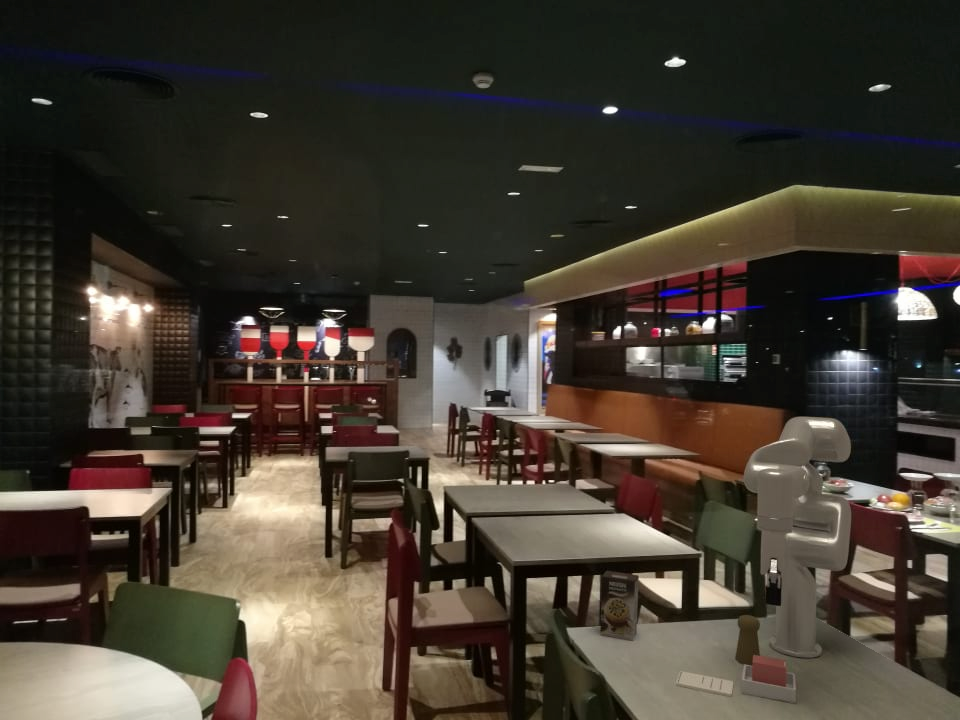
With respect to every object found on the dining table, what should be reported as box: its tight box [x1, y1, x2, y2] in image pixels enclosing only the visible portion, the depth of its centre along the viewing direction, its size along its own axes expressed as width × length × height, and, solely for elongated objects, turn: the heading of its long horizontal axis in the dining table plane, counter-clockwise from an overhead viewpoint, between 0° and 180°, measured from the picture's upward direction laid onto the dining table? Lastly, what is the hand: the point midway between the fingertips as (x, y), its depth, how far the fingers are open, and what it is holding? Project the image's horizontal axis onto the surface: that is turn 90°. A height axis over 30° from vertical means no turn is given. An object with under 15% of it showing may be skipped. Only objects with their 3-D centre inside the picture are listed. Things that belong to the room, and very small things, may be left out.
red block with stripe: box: [752, 655, 787, 687], centre depth 156 cm, size 4×7×6 cm, turn 66°
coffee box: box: [600, 570, 640, 642], centre depth 187 cm, size 9×6×16 cm
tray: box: [741, 664, 797, 705], centre depth 156 cm, size 9×11×3 cm
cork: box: [734, 614, 761, 666], centre depth 171 cm, size 6×6×11 cm
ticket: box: [675, 670, 734, 698], centre depth 157 cm, size 7×12×1 cm, turn 66°
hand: (773, 597), depth 157 cm, fingers open, 9 cm apart
